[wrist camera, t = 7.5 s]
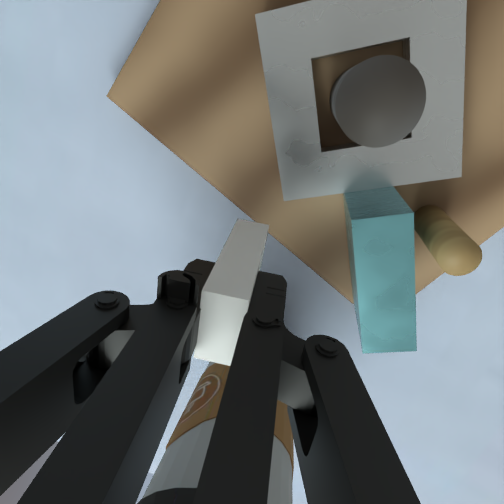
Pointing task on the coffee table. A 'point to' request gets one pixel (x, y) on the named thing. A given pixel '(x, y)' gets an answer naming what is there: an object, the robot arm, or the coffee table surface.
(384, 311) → the flange
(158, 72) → the post base
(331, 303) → the coffee table surface
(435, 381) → the coffee table surface
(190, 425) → the coffee cup
